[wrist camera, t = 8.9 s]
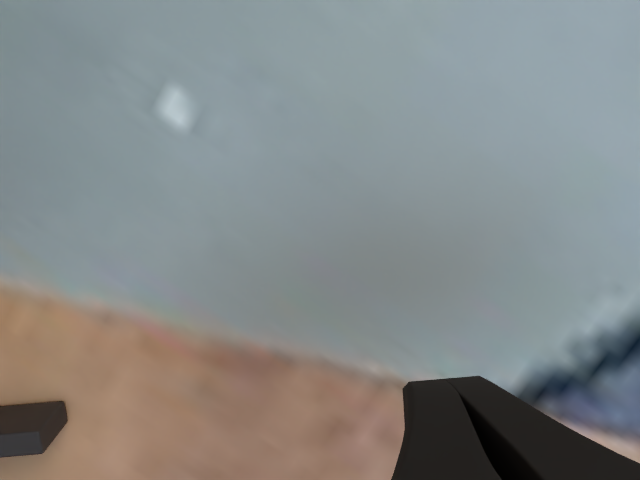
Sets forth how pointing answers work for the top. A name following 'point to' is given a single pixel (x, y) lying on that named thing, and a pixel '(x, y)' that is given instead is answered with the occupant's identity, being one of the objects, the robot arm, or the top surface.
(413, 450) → the robot arm
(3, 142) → the top surface
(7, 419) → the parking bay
